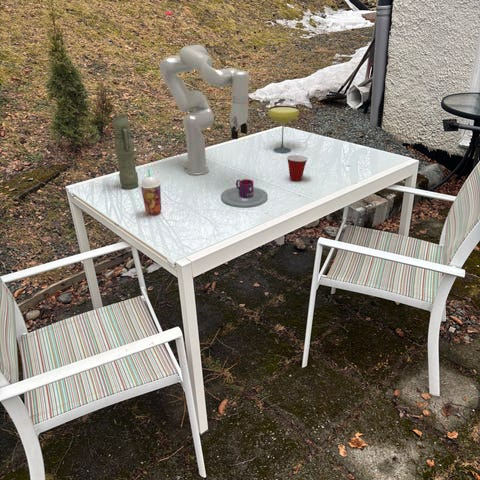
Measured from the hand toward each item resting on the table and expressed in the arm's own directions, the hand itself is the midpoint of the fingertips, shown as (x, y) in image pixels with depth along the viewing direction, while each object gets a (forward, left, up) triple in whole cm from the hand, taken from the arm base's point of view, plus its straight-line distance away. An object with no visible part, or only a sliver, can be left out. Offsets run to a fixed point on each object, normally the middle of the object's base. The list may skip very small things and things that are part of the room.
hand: (239, 136), depth 210 cm
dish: (+9, -14, -25) cm, 30 cm away
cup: (+9, -14, -24) cm, 29 cm away
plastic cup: (+24, +18, -25) cm, 39 cm away
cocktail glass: (+1, +60, -25) cm, 65 cm away
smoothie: (-21, -45, -25) cm, 56 cm away
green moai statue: (-50, -24, -25) cm, 61 cm away
